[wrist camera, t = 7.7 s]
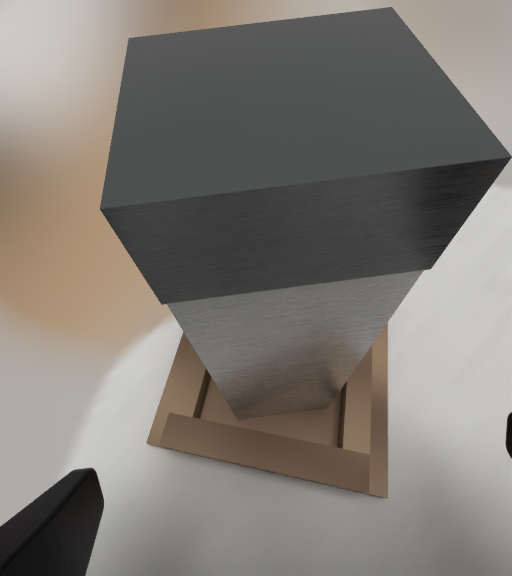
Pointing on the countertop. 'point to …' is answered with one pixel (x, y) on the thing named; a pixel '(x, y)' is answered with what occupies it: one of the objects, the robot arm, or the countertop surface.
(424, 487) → the countertop surface
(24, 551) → the robot arm
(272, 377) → the grey dark-topped prism
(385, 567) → the countertop surface
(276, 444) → the brown square tray
